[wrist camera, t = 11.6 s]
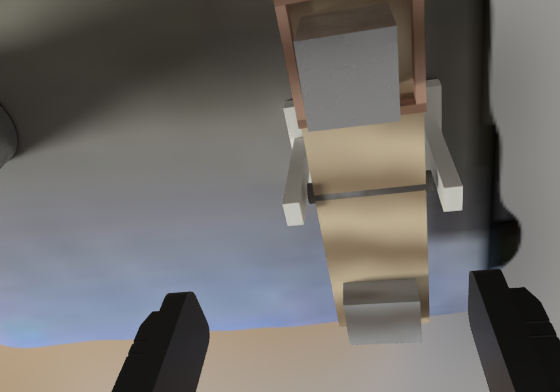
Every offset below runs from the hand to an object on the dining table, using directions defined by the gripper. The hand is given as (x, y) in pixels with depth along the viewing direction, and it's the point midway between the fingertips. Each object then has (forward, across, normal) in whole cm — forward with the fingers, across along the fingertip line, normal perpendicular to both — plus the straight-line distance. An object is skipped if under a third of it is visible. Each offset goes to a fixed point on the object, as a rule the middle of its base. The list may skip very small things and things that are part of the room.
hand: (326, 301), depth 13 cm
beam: (+19, -2, +9) cm, 21 cm away
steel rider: (+18, -1, -1) cm, 19 cm away
